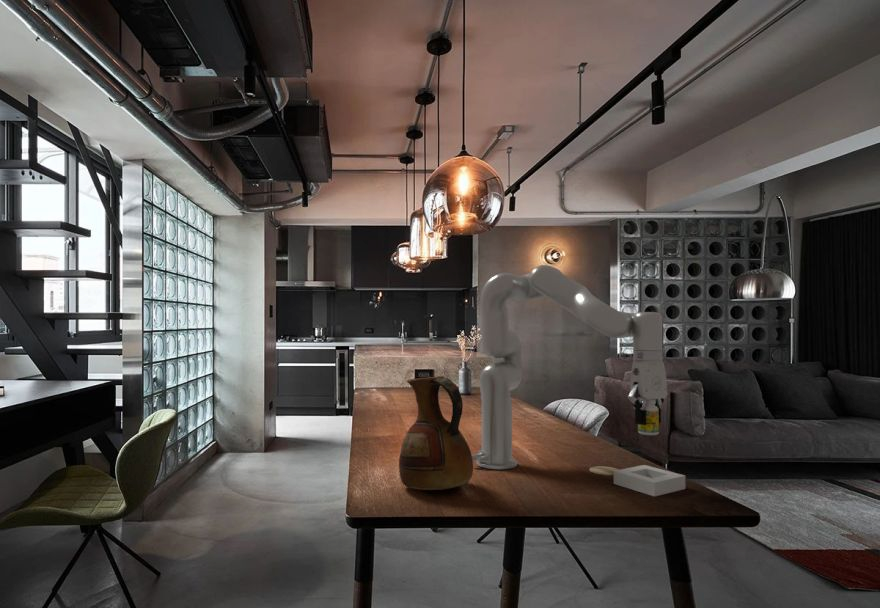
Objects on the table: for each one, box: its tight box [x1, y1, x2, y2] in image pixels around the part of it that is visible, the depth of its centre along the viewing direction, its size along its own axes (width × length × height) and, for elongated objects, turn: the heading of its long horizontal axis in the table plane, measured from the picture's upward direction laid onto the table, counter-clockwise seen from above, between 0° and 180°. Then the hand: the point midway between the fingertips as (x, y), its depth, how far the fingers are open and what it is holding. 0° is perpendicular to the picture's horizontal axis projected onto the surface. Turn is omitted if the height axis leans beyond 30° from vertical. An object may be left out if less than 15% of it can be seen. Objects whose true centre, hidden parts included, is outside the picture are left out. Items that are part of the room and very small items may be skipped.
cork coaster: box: [589, 465, 620, 476], centre depth 162 cm, size 9×9×1 cm
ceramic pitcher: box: [398, 375, 474, 491], centre depth 144 cm, size 20×20×30 cm
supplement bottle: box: [637, 399, 660, 436], centre depth 147 cm, size 5×5×10 cm
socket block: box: [613, 464, 686, 497], centre depth 147 cm, size 13×13×4 cm
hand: (648, 422), depth 147 cm, fingers closed on supplement bottle, 5 cm apart
